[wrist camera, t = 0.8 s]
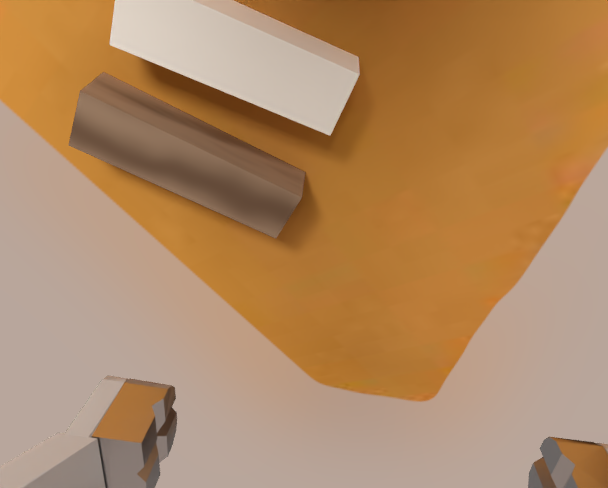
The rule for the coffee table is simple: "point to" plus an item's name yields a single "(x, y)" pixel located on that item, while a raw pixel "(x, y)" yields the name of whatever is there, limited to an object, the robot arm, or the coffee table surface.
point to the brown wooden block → (185, 155)
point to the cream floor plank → (241, 55)
